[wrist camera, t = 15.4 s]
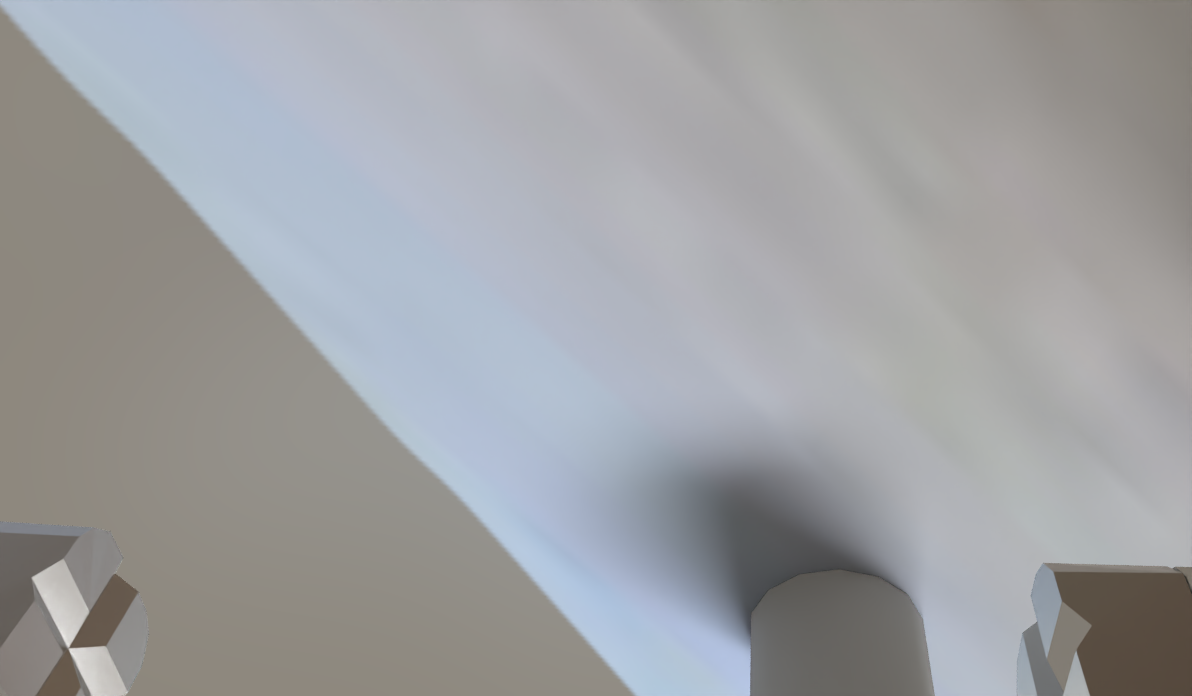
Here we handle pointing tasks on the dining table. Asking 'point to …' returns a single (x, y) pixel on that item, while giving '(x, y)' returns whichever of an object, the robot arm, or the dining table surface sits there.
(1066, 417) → the dining table surface
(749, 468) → the dining table surface
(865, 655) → the cup
